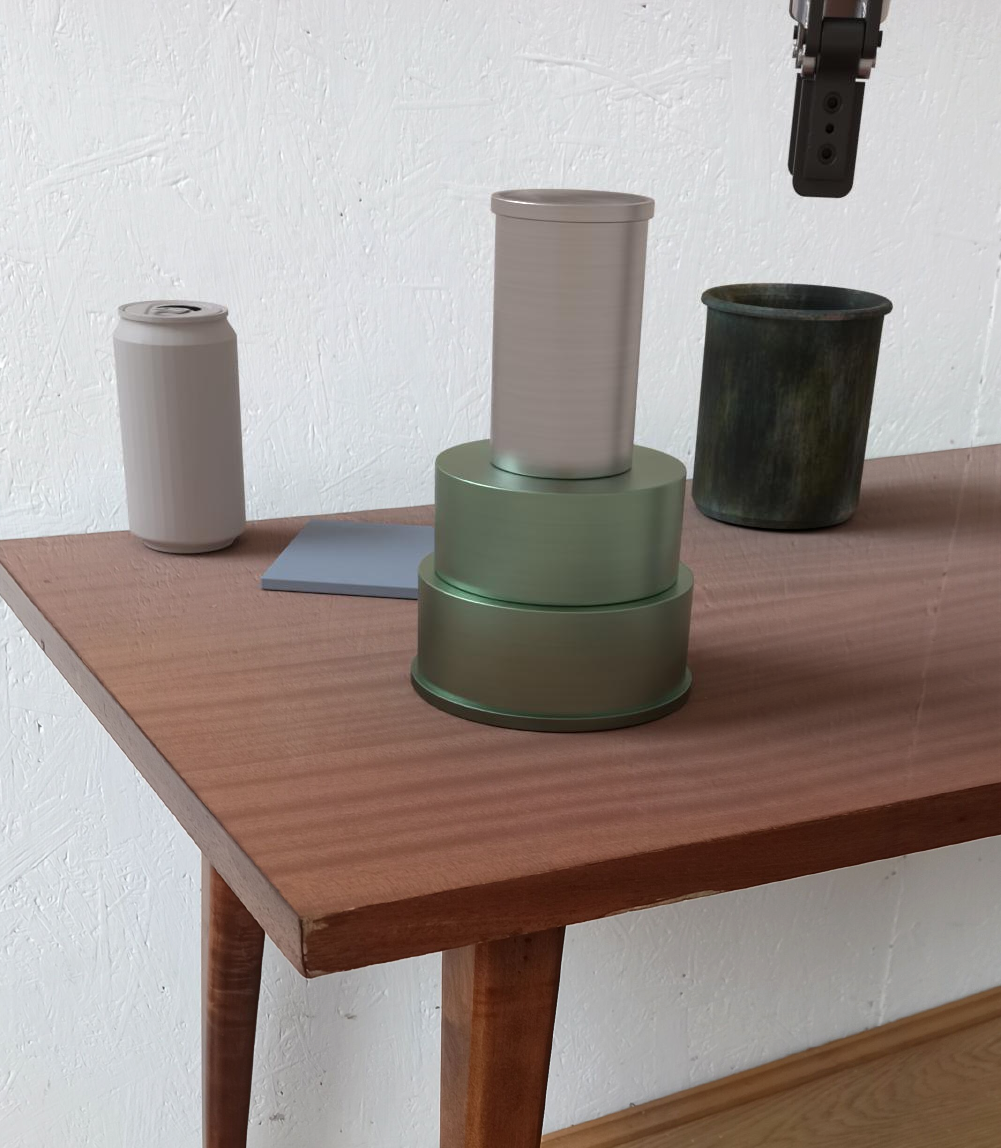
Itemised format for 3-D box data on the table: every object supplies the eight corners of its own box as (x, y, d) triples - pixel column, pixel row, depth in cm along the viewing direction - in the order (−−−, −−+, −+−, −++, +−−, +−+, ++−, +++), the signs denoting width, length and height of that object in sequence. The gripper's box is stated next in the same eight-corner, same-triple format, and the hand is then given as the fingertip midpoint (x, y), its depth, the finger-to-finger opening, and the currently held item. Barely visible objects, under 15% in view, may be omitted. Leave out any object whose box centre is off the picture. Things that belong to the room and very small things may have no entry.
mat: (519, 542, 97) (519, 531, 97) (492, 604, 87) (493, 592, 87) (310, 529, 98) (310, 518, 98) (260, 589, 88) (260, 577, 88)
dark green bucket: (652, 516, 103) (669, 297, 96) (746, 470, 114) (767, 271, 107) (824, 545, 99) (854, 318, 92) (905, 495, 109) (936, 288, 103)
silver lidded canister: (640, 450, 75) (658, 192, 70) (632, 484, 70) (651, 208, 64) (494, 442, 76) (501, 185, 70) (475, 475, 70) (481, 200, 65)
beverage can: (262, 531, 98) (253, 301, 91) (222, 561, 92) (208, 318, 86) (157, 521, 99) (140, 293, 92) (111, 550, 93) (89, 310, 87)
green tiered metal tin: (694, 646, 82) (713, 439, 77) (686, 741, 72) (707, 508, 67) (434, 629, 83) (435, 423, 78) (388, 720, 73) (386, 489, 68)
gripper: (1016, -387, 52) (930, 209, 61) (966, -314, 64) (900, 176, 73) (767, -391, 53) (717, 200, 62) (764, -318, 65) (722, 168, 74)
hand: (816, 186), depth 67 cm, fingers open, 8 cm apart
